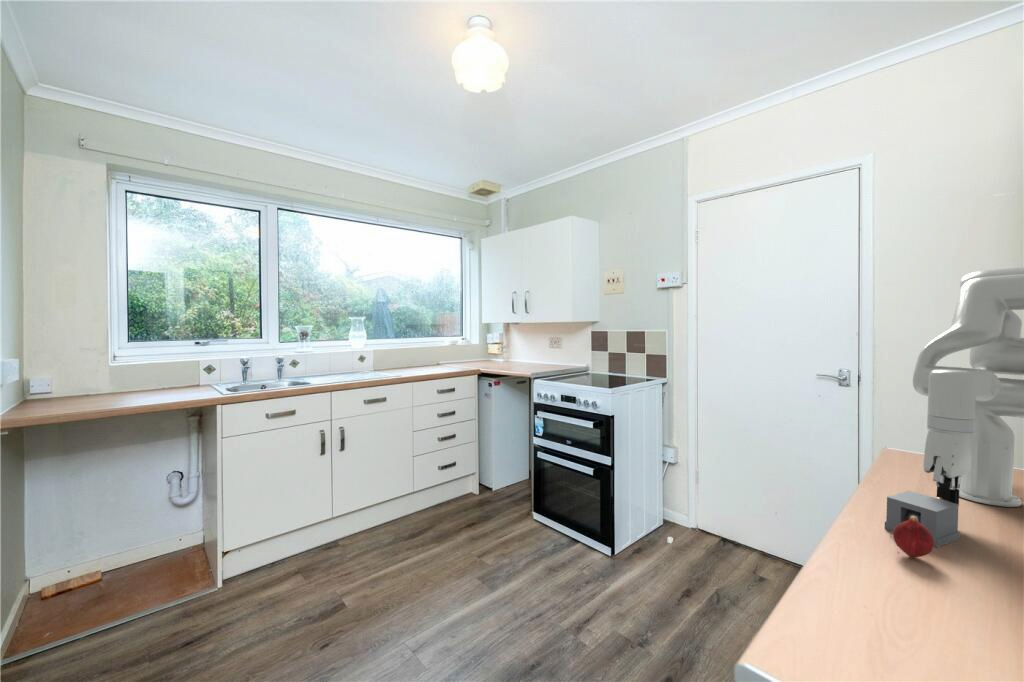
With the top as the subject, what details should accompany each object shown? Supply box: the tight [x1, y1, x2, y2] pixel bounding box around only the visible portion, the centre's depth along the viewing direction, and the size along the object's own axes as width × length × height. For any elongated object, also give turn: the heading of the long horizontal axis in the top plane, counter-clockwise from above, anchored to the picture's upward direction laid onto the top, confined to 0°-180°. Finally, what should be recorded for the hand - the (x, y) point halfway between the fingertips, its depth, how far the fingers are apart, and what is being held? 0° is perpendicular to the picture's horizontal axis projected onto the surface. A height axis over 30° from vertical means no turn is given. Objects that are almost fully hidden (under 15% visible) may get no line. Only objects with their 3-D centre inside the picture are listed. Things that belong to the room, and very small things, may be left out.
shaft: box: [907, 496, 951, 523], centre depth 94 cm, size 13×5×5 cm, turn 114°
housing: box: [884, 490, 961, 548], centre depth 93 cm, size 9×9×7 cm
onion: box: [892, 516, 935, 559], centre depth 83 cm, size 6×6×8 cm
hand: (947, 505), depth 98 cm, fingers closed
